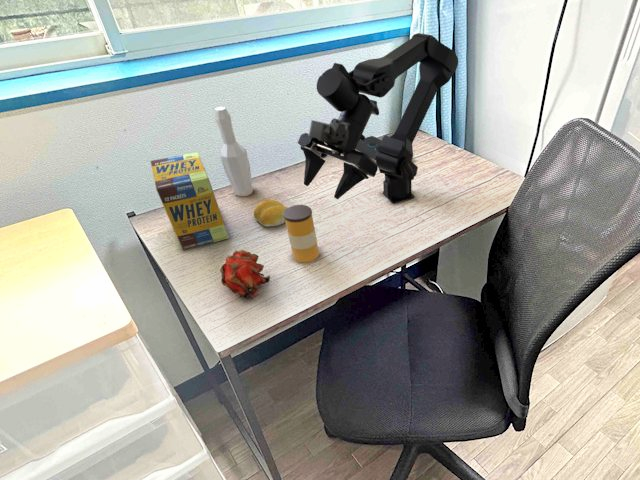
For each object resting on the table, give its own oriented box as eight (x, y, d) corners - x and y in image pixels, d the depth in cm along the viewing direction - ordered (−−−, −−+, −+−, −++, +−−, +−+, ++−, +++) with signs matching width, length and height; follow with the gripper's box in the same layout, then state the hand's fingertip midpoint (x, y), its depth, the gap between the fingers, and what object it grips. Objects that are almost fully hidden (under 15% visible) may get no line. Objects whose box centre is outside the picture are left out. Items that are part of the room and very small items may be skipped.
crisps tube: (314, 244, 99) (306, 202, 91) (322, 258, 95) (315, 214, 87) (289, 251, 97) (279, 208, 89) (297, 265, 93) (287, 222, 85)
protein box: (183, 251, 97) (155, 189, 87) (174, 219, 107) (149, 160, 97) (229, 238, 101) (209, 177, 90) (217, 208, 111) (197, 150, 100)
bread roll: (267, 232, 103) (263, 217, 100) (250, 217, 108) (246, 202, 105) (297, 219, 106) (294, 205, 104) (279, 205, 112) (276, 191, 109)
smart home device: (372, 135, 140) (411, 155, 128) (373, 140, 141) (411, 161, 130) (351, 141, 137) (388, 163, 125) (352, 146, 138) (388, 168, 126)
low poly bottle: (239, 185, 120) (215, 103, 105) (260, 187, 119) (238, 104, 104) (228, 196, 115) (201, 112, 100) (249, 198, 114) (225, 114, 99)
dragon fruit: (246, 274, 93) (261, 314, 87) (206, 268, 87) (220, 310, 81) (263, 245, 90) (280, 283, 83) (223, 235, 84) (238, 277, 77)
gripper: (296, 92, 87) (264, 163, 88) (364, 112, 78) (328, 190, 79) (329, 120, 97) (300, 184, 98) (393, 141, 88) (360, 210, 89)
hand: (320, 191), depth 91 cm, fingers open, 9 cm apart
